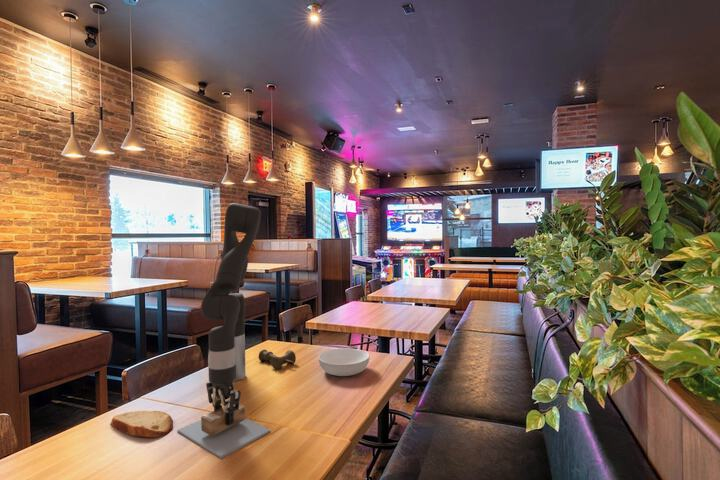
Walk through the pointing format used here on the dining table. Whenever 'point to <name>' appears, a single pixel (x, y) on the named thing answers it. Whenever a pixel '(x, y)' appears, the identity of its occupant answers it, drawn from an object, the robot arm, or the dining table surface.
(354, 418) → the dining table surface
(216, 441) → the slate mat
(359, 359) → the serving bowl
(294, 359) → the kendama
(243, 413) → the brown rectangular block
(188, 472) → the dining table surface
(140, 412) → the bread slice
